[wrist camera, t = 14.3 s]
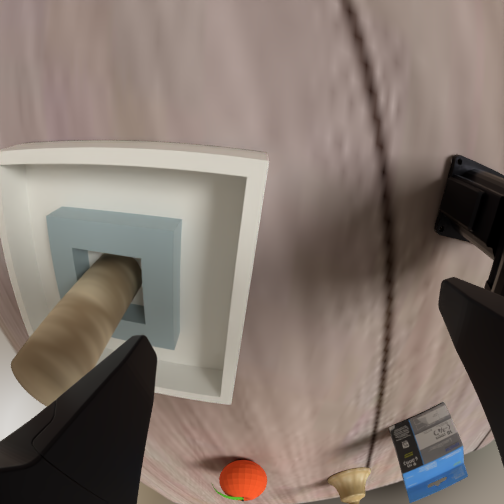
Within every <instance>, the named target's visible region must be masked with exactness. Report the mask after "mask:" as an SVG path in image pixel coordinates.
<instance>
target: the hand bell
mask: <svg viewBox="0 0 504 504" xmlns="http://www.w3.org/2000/svg"><path fill="white" fill-rule="evenodd" d="M370 472H371V469H370V468H366V467H361V468H354V469H349V470H345V471H342V472H339V473H337V474H335V475H333V476H331V477H330V478H329V479H328V483H329V484H330V485H333V486H334V487H335V488H336V489H337V491H338V493H339V495H340V498H341V501H342V502H345V503H349V504H359V501H360V500H361V499H362V498H363V497H364V496H365V483H366V480H367V477H368V476H369V475H370Z"/></svg>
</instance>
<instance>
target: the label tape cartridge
mask: <svg viewBox="0 0 504 504" xmlns="http://www.w3.org/2000/svg"><path fill="white" fill-rule="evenodd" d="M389 430H390V434H391V437H392V441H393V444H394V447H395V451H396V454H397V458H398V461H399V465H400V468H401V472H402V477H403V481H404V485H405V488H406V490H407V493H408V497H409V501H410V503H412V502H414V501H417V500H419V499H421V498H424V497H426V496H429V495H431V494H433V493H435V492H438V491H440V490H442V489H444V488H446V487H448V486H451V485H452V484H454V483H456V482H458V481H460V480H462V479H464V478H466V477H468V474H467V471H466V468H465V465H464V451H463V444H462V441H461V439H460V437H459V434H458V432H457V429H456V427H455V425H454V422H453V420H452V418H451V416H450V413H449V411H448V409H447V407H446V405H445V403H444V402H443V403H441V404H439V405H437V406H436V407H434V408H431V409H429V410H427V411H425V412H423V413H421V414H419V415H417V416H415V417H412V418H410V419H408V420H406V421H403V422H401V423H399V424H396V425H393V426H391V427H389ZM444 477H447V479H446V480H445V481H443V482H441V483H440V485H439V486H435V485H434V486H432V487H430V488H428V487H427V486H428V484H430V483H432V482H435V481H437V480H439V479H441V478H444Z"/></svg>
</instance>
